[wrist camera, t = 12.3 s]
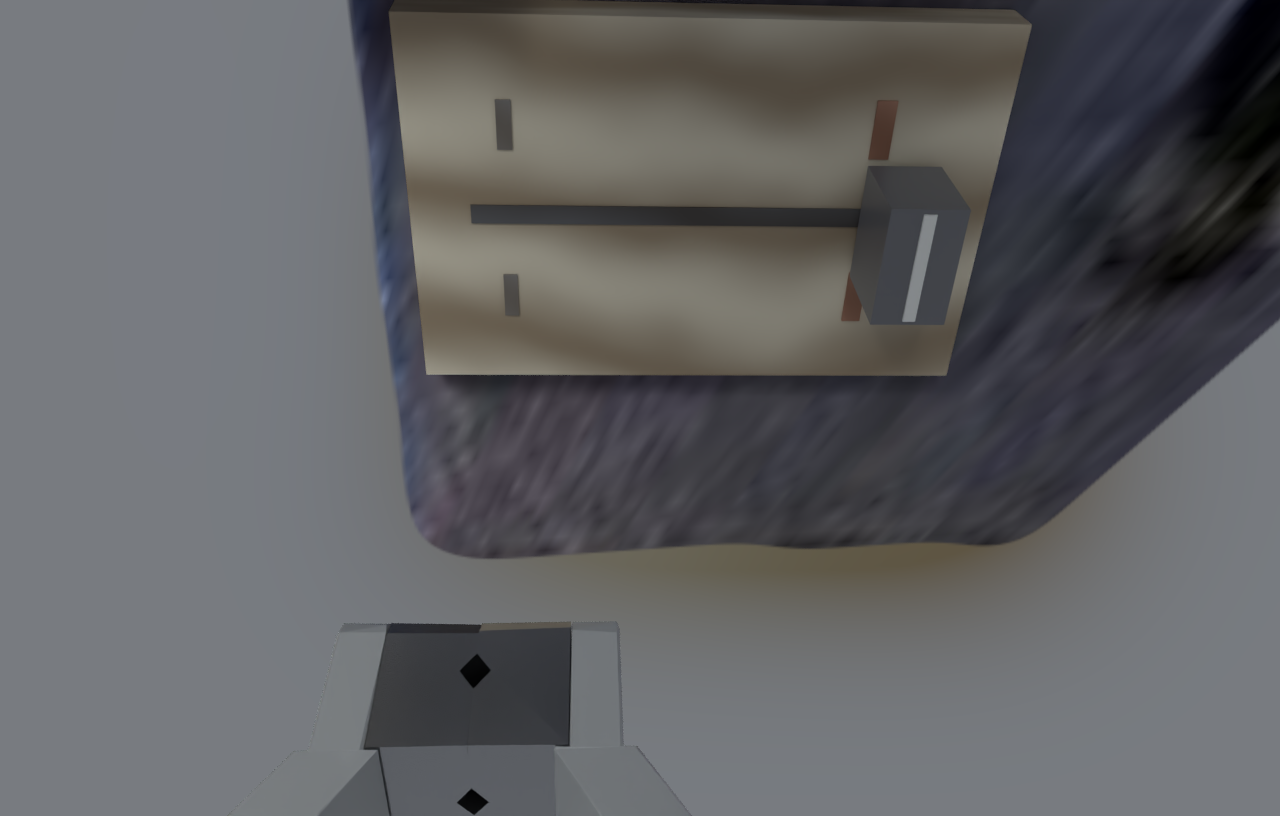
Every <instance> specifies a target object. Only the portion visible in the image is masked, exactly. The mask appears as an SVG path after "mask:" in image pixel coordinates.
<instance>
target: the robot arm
mask: <svg viewBox="0 0 1280 816" xmlns="http://www.w3.org/2000/svg"><path fill="white" fill-rule="evenodd" d="M620 660H621V659H620V631H619V626H618V623H617V622H573V623H572V651H571V622H537V623H536V622H535V623H484V624H482V625H465V624H404V623H400V624H399V623H392V624H355V623H354V624H353V623H349V624H348V623H344V625H343V626H342V628H341V629H340V631H339V633H338V635H337V637H336V641H335V645H334V649H333V653H332V657H331V661H330V665H329V669H328V672H327V676H326V681H325V684H324V688H323V692H322V696H321V700H320V704H319V708H318V712H317V716H316V720H315V724H314V728H313V732H312V736H311V740H310V744H309V748H308V750H306V751H293V752H292V753H291V754H290V755H289V756H288V757H287V758H286V759H285V760H284V761H283V762H282V763H281V764H280V765H279V766H278V767H277V768H276V769H275V770H274V771H273V772H272V773H271V774H270V775H269V776H268V777H267V778H266V779H265V780H263V782H262V783H260V784H259V785H258V786H257V787H256V788H255V789H254V790H253V791H252V792H251V793H250V794H249V795H248V796H247V797H246V798H245V799H244V800H243V801H242V802H241V803H240V804H239V805H238V806H237V807H236V808H235V809H234V810H233V811H232V812H231V813H230V814H229V815H228V816H692V815H691V814H690V813H689V812H688V810H687V809H686V808H685V806H684V805H683V804H682V803H681V801H680V800H679V799H678V797H677V796H676V795H675V794H674V792H673V791H672V790H671V788H670V787H669V786H668V785H667V783H666V782H665V781H664V780H663V778H662V777H661V776H660V774H659V773H658V772H657V771H656V769H655V768H654V767H653V766H652V764H651V763H650V762H649V761H648V759H647V758H646V757H645V755H644V754H643V753H642V751H641V750H640V749H639V748H638V746H624V743H623V717H622V716H623V715H622V687H621V661H620Z"/></svg>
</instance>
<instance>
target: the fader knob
mask: <svg viewBox="0 0 1280 816" xmlns="http://www.w3.org/2000/svg"><path fill="white" fill-rule="evenodd" d="M970 213H971V209H970V208H969V206H968V205H967V203H966V202H965V200H964V199H963V197H962V196H961V194H960V193H959V191H958V190H957V189H956V187H955V186H954V184H953V183H952V181H951V180H950V178H949V177H948V175H947V174H946V172H945V171H944V170H943V168H942V167H918V166H868V169H867V175H866V181H865V187H864V193H863V199H862V205H861V211H860V217H859V223H858V229H857V235H856V241H855V247H854V253H853V259H852V264H851V270H850V278H851V281H852V283H853V285H854V288H855V290H856V292H857V295H858V297H859V300H860V302H861V304H862V307H863V309H864V311H865V314H866V316H867V319H868V321H869V323H870V325H944V323H945V319H946V315H947V311H948V306H949V302H950V298H951V294H952V289H953V285H954V281H955V277H956V272H957V268H958V264H959V260H960V255H961V251H962V247H963V243H964V238H965V234H966V230H967V226H968V221H969V217H970Z"/></svg>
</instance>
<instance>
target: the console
mask: <svg viewBox="0 0 1280 816" xmlns="http://www.w3.org/2000/svg"><path fill="white" fill-rule="evenodd" d="M389 20H390V30H391V40H392V49H393V59H394V68H395V78H396V87H397V97H398V106H399V116H400V126H401V135H402V145H403V154H404V164H405V173H406V183H407V193H408V202H409V212H410V221H411V231H412V240H413V250H414V259H415V269H416V279H417V288H418V298H419V307H420V317H421V326H422V336H423V345H424V355H425V365H426V374H427V375H829V376H946V375H947V371H948V366H949V362H950V358H951V354H952V350H953V346H954V342H955V338H956V334H957V330H958V326H959V321H960V317H961V313H962V309H963V305H964V301H965V297H966V293H967V289H968V285H969V281H970V276H971V272H972V268H973V264H974V260H975V256H976V252H977V248H978V244H979V240H980V236H981V232H982V227H983V223H984V219H985V215H986V211H987V207H988V203H989V199H990V195H991V191H992V187H993V182H994V178H995V174H996V170H997V166H998V162H999V158H1000V154H1001V150H1002V146H1003V142H1004V138H1005V133H1006V129H1007V125H1008V121H1009V117H1010V113H1011V109H1012V105H1013V101H1014V97H1015V93H1016V88H1017V84H1018V80H1019V76H1020V72H1021V68H1022V64H1023V60H1024V56H1025V52H1026V48H1027V43H1028V39H1029V35H1030V31H1031V27H1032V24H1031V23H1029V22H1028V21H1027V20H1026V19H1025V18H1024V17H1022V16H1021V15H1020V14H1019V13H1018V12H1017V11H1015V10H1000V9H954V8H907V7H860V6H813V5H766V4H720V3H673V2H626V1H579V0H394V2H393V4H392V6H391V8H390V10H389ZM868 166H918V167H942V168H943V170H944V171H945V172H946V174H947V175H948V177H949V178H950V180H951V181H952V183H953V184H954V186H955V187H956V189H957V190H958V191H959V193H960V194H961V196H962V197H963V199H964V200H965V202H966V203H967V205H968V206H969V208H970V209H971V213H970V217H969V221H968V226H967V230H966V234H965V238H964V243H963V247H962V251H961V255H960V260H959V264H958V268H957V272H956V277H955V281H954V285H953V289H952V294H951V298H950V302H949V306H948V311H947V315H946V319H945V323H944V325H870V323H869V321H868V319H867V316H866V314H865V311H864V309H863V307H862V304H861V302H860V300H859V297H858V295H857V292H856V290H855V288H854V285H853V283H852V281H851V278H850V270H851V264H852V259H853V253H854V247H855V241H856V235H857V229H858V223H859V217H860V211H861V205H862V199H863V193H864V187H865V181H866V175H867V169H868Z"/></svg>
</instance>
